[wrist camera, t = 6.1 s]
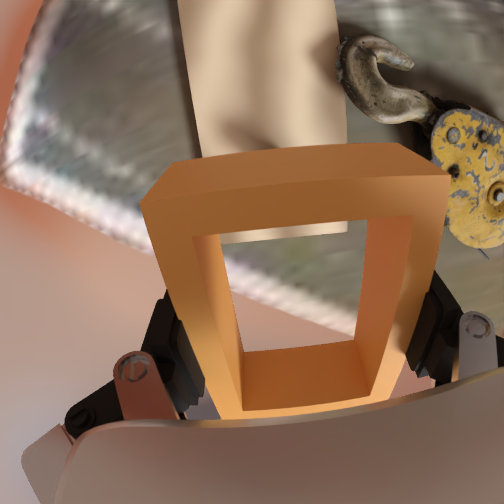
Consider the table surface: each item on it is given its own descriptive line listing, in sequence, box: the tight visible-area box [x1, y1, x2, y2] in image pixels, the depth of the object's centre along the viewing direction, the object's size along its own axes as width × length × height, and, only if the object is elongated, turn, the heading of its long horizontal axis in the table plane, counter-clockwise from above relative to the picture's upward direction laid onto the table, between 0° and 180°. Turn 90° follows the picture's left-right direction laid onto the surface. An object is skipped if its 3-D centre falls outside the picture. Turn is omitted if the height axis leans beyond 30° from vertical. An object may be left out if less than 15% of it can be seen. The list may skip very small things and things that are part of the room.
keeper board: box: [177, 0, 347, 244], centre depth 18 cm, size 12×30×7 cm, turn 7°
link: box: [139, 143, 451, 420], centre depth 10 cm, size 7×10×3 cm
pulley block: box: [334, 34, 504, 260], centre depth 22 cm, size 14×6×30 cm
